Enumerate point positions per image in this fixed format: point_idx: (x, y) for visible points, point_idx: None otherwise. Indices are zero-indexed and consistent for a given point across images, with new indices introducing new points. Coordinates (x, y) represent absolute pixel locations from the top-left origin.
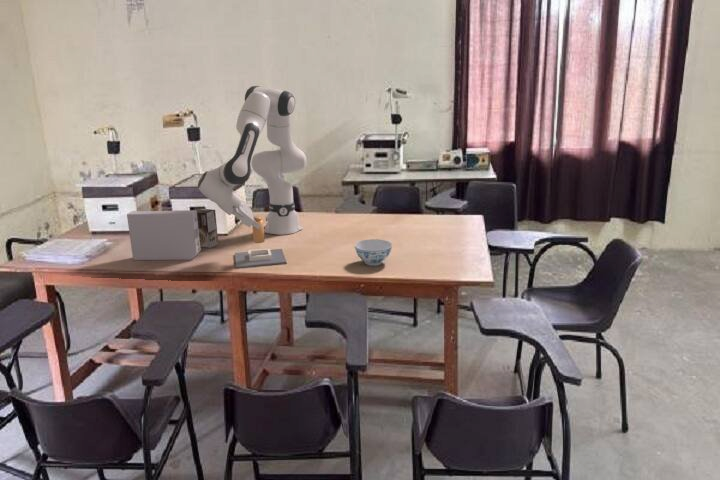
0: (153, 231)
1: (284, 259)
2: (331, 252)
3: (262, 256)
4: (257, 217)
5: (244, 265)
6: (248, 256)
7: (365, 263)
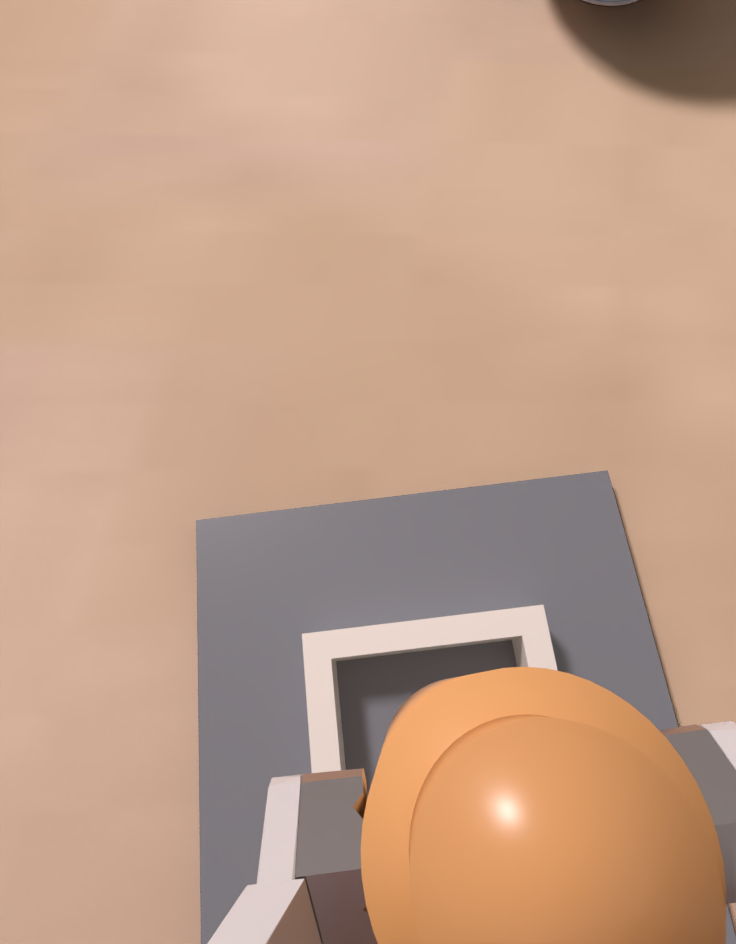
0: None
1: (536, 489)
2: (348, 164)
3: None
4: (539, 879)
5: (726, 934)
6: None
7: (622, 4)
